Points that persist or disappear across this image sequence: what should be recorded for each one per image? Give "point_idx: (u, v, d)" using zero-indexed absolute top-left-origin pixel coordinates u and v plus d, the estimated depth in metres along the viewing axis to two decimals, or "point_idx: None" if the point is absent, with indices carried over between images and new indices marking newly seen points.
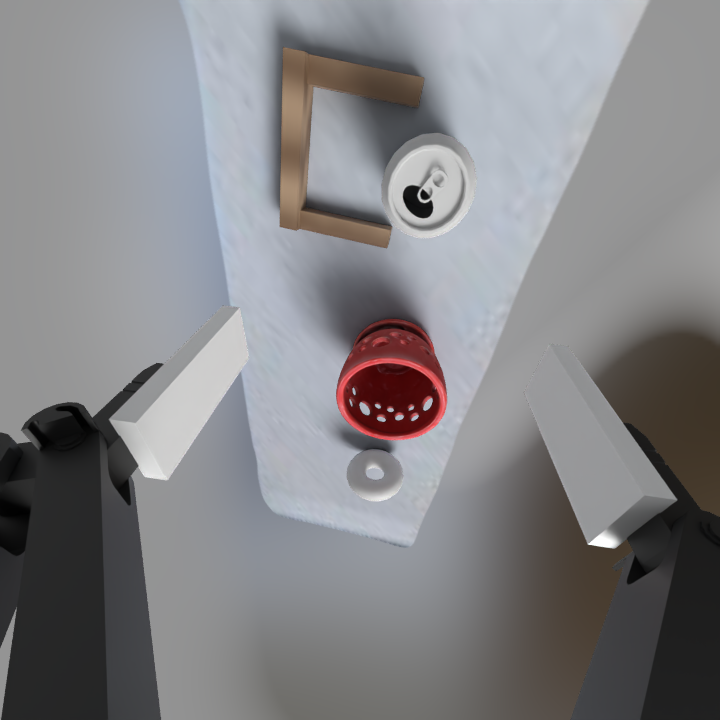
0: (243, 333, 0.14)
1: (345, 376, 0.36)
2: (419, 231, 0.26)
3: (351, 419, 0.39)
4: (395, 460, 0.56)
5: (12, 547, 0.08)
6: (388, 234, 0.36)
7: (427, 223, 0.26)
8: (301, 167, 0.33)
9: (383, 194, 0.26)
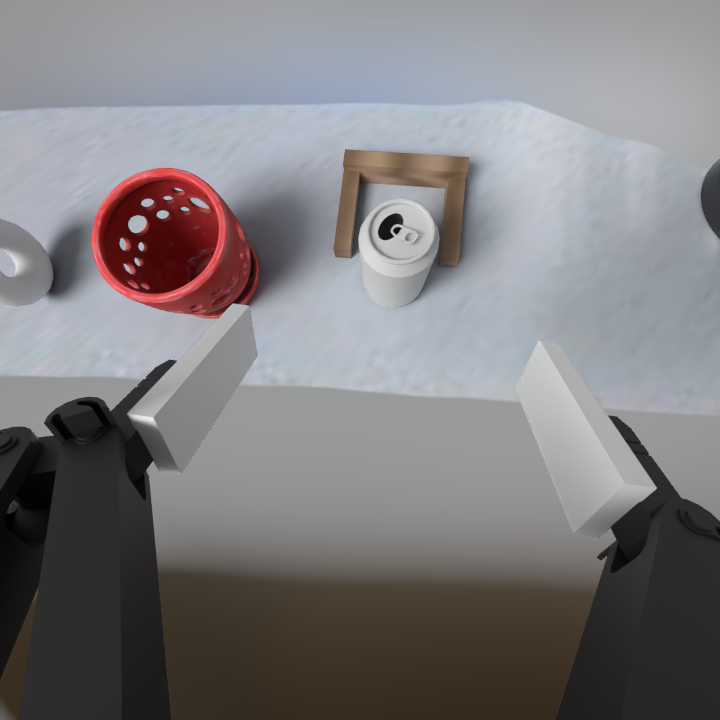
0: (252, 331, 0.14)
1: (194, 176, 0.29)
2: (367, 229, 0.28)
3: (124, 188, 0.30)
4: (35, 296, 0.39)
5: (31, 539, 0.08)
6: (346, 249, 0.38)
7: (374, 237, 0.28)
8: (394, 170, 0.39)
9: None
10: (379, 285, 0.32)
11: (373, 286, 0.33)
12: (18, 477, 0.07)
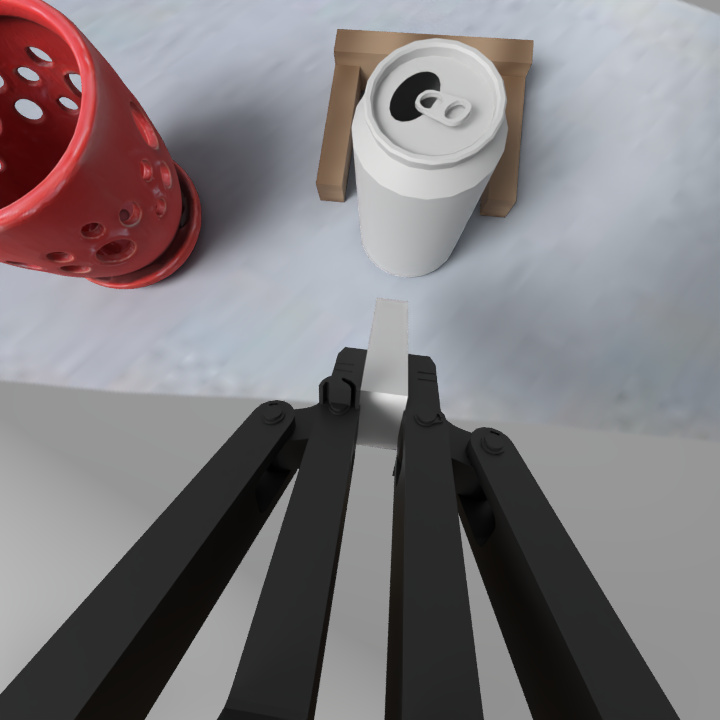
0: None
1: (40, 2, 0.15)
2: (368, 97, 0.14)
3: None
4: None
5: (260, 500, 0.09)
6: (335, 183, 0.24)
7: (381, 117, 0.14)
8: None
9: None
10: (388, 228, 0.18)
11: (377, 232, 0.19)
12: (275, 451, 0.08)
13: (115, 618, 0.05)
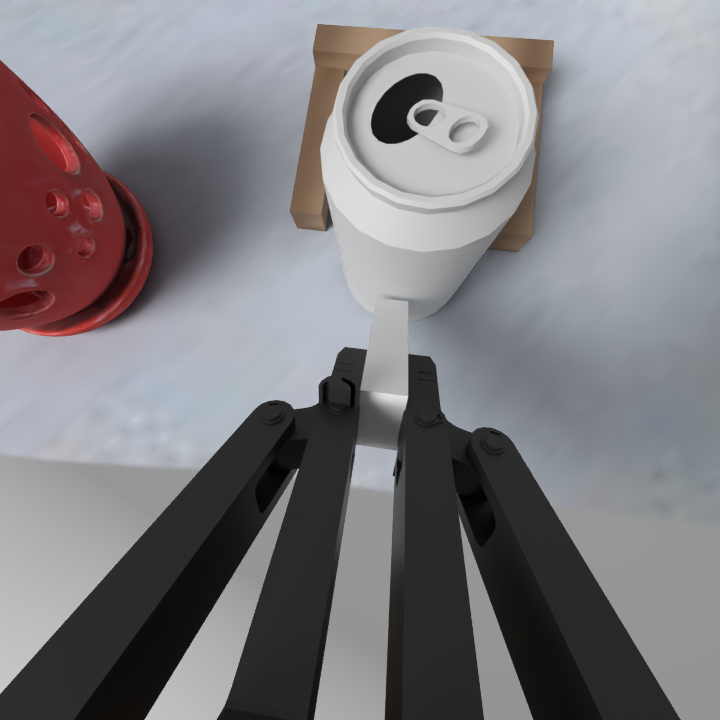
0: None
1: None
2: (340, 109, 0.10)
3: None
4: None
5: (259, 500, 0.09)
6: (314, 211, 0.20)
7: (359, 136, 0.10)
8: None
9: None
10: (373, 276, 0.14)
11: (360, 277, 0.15)
12: (274, 451, 0.08)
13: (115, 618, 0.05)
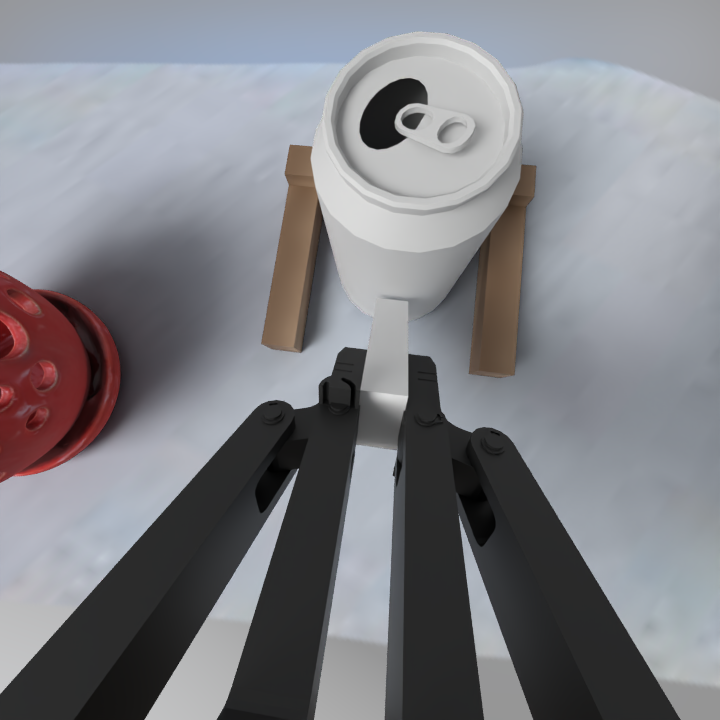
0: None
1: None
2: (329, 119, 0.10)
3: None
4: None
5: (259, 500, 0.09)
6: (286, 344, 0.19)
7: (349, 144, 0.10)
8: None
9: None
10: (371, 279, 0.14)
11: (358, 282, 0.15)
12: (274, 451, 0.08)
13: (115, 618, 0.05)
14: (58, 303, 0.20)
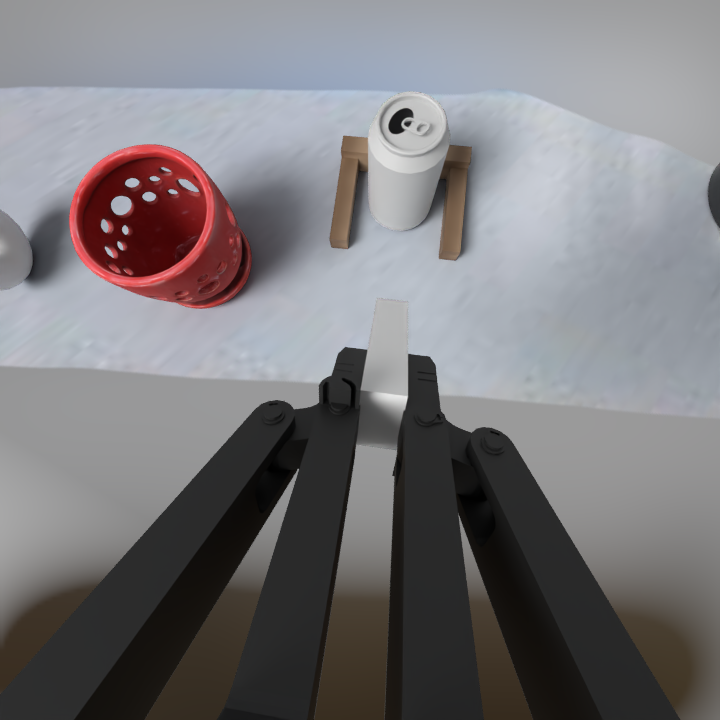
0: None
1: (181, 153, 0.28)
2: (378, 123, 0.27)
3: (105, 165, 0.28)
4: (12, 281, 0.36)
5: (260, 500, 0.09)
6: (342, 238, 0.36)
7: (384, 132, 0.28)
8: None
9: None
10: (389, 194, 0.32)
11: (383, 198, 0.33)
12: (275, 451, 0.08)
13: (115, 618, 0.05)
14: None
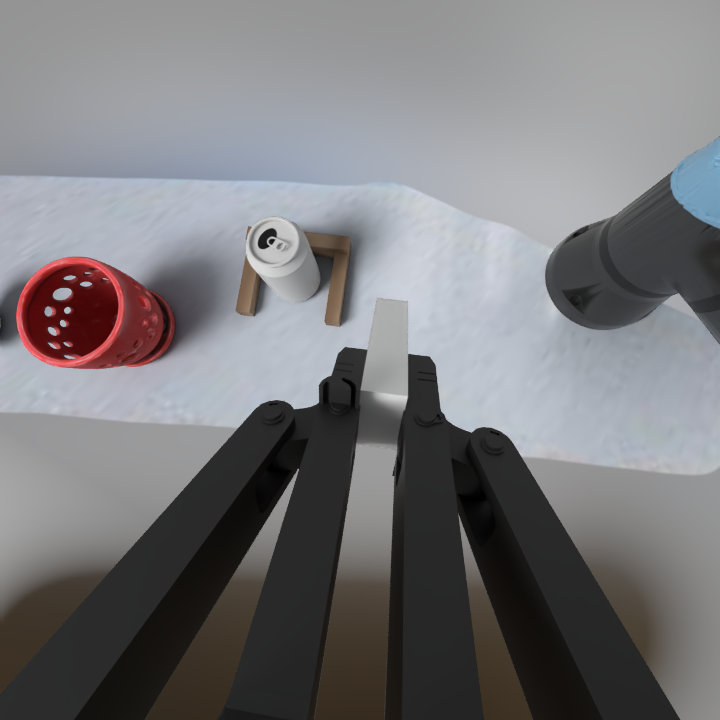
0: None
1: (100, 264, 0.37)
2: (248, 241, 0.36)
3: (44, 272, 0.37)
4: None
5: (260, 500, 0.09)
6: (246, 311, 0.45)
7: (254, 247, 0.37)
8: None
9: None
10: (271, 284, 0.41)
11: (269, 285, 0.42)
12: (275, 451, 0.08)
13: (115, 618, 0.05)
14: None
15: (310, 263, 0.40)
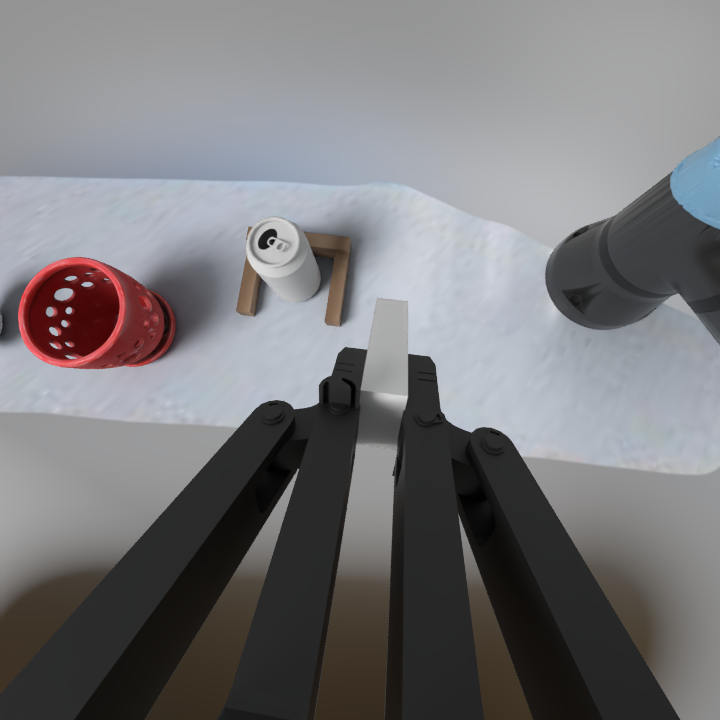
0: None
1: (101, 265, 0.37)
2: (248, 242, 0.36)
3: (45, 273, 0.37)
4: None
5: (260, 500, 0.09)
6: (246, 311, 0.46)
7: (254, 248, 0.37)
8: None
9: None
10: (271, 285, 0.41)
11: (269, 285, 0.42)
12: (275, 451, 0.08)
13: (115, 618, 0.05)
14: None
15: (310, 263, 0.40)
